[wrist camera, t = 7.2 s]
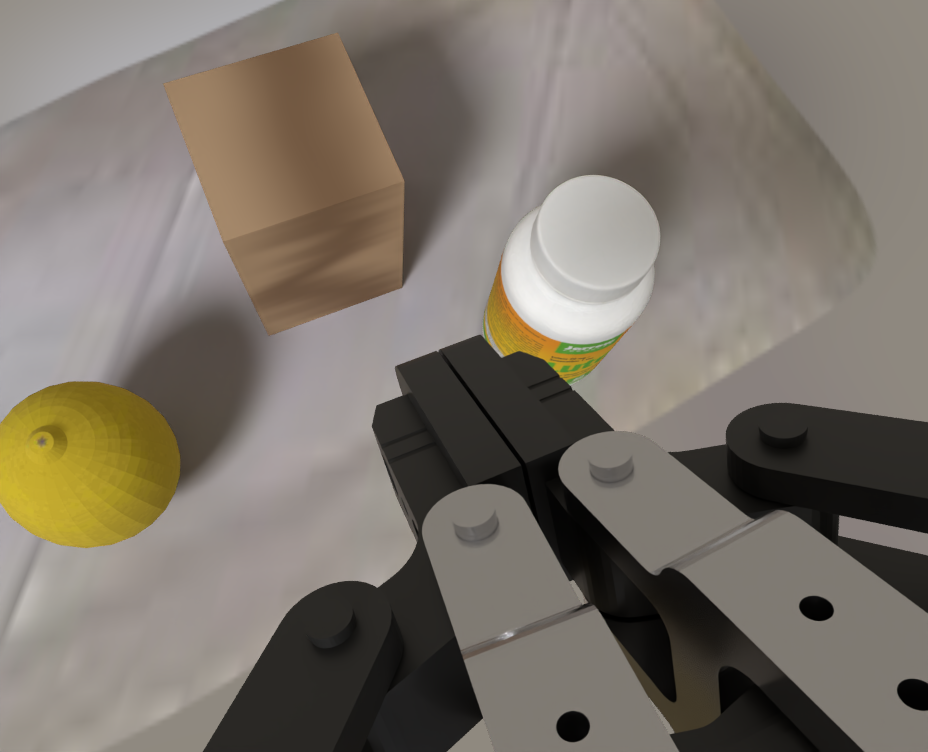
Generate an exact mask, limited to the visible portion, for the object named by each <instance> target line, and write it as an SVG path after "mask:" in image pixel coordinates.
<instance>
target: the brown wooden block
mask: <svg viewBox="0 0 928 752" xmlns="http://www.w3.org/2000/svg"><path fill="white" fill-rule="evenodd" d="M163 85H164V87H165V90H166V93H167V95H168V98H169V101H170V103H171V106H172V109H173V111H174V114H175V116H176V119H177V122H178V124H179V127H180V130H181V132H182V135H183V138H184V140H185V143H186V145H187V148H188V151H189V153H190V156H191V159H192V161H193V164H194V167H195V169H196V172H197V174H198V177H199V180H200V182H201V185H202V188H203V190H204V193H205V196H206V198H207V201H208V203H209V206H210V209H211V211H212V214H213V217H214V219H215V222H216V225H217V227H218V230H219V232H220V235H221V238H222V240H223V243H224V245H225V247H226V249H227V251H228V253H229V255H230V257H231V259H232V261H233V263H234V265H235V267H236V269H237V271H238V273H239V276H240V278H241V280H242V282H243V284H244V286H245V288H246V290H247V292H248V294H249V296H250V298H251V300H252V302H253V304H254V306H255V308H256V310H257V312H258V314H259V316H260V319H261V321H262V323H263V325H264V327H265V329H266V331H267V333H268V335H269V336H270V335H273V334H275V333H278V332H281V331H284V330H286V329H289V328H292V327H295V326H298V325H300V324H303V323H306V322H309V321H311V320H314V319H317V318H320V317H322V316H325V315H328V314H331V313H333V312H336V311H339V310H342V309H344V308H347V307H350V306H353V305H356V304H358V303H361V302H364V301H367V300H369V299H372V298H375V297H378V296H380V295H383V294H386V293H389V292H391V291H394V290H397V289H400V288H402V271H403V226H404V179H403V177H402V174H401V172H400V170H399V168H398V165H397V163H396V161H395V159H394V157H393V154H392V152H391V150H390V148H389V145H388V143H387V141H386V139H385V136H384V134H383V132H382V130H381V128H380V125H379V123H378V121H377V119H376V116H375V114H374V112H373V110H372V107H371V105H370V103H369V101H368V99H367V96H366V94H365V92H364V90H363V87H362V85H361V83H360V81H359V79H358V76H357V74H356V72H355V70H354V67H353V65H352V63H351V61H350V58H349V56H348V54H347V52H346V50H345V47H344V45H343V43H342V41H341V38H340V36H339V34H338V33H335V34H331V35H328V36H325V37H321V38H318V39H314V40H311V41H307V42H304V43H301V44H297V45H294V46H290V47H287V48H284V49H280V50H277V51H273V52H270V53H266V54H263V55H260V56H256V57H253V58H249V59H246V60H242V61H239V62H236V63H232V64H229V65H225V66H222V67H219V68H215V69H212V70H208V71H205V72H201V73H198V74H195V75H191V76H188V77H184V78H181V79H177V80H174V81H171V82H167V83H164V84H163Z"/></svg>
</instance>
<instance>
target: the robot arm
mask: <svg viewBox="0 0 928 752" xmlns="http://www.w3.org/2000/svg"><path fill="white" fill-rule="evenodd" d="M395 371H396V375H397V379H398V382H399V385H400V388H401V391H402V395H403V396H400V397H398V398H395V399H392V400H390V401H387V402H385V403H382V404H379V405H377V406H376V410H375V415H374V419H373V423H372V428H373V431H374V434H375V437H376V440H377V443H378V445H379V448H380V451H381V454H382V457H383V460H384V463H385V465H386V468H387V471H388V474H389V477H390V480H391V483H392V485H393V488H394V491H395V494H396V497H397V499H398V501H399V504H400V506H401V508H402V510H403V512H404V515H405V517H406V519H407V521H408V523H409V526H410V528H411V530H412V532H413V534H414V536H415V539H416V541H417V544H416V547H415V550H414V552H413V554H412V556H411V557H410V559H409V560H408V561H407V563H406V564H405V565H404V566H403V567H402V568H401V569H400V570H399V571H398V572H397V573H396V574H395V575H394V576H393V577H391V578H390V579H389V580H387V581H386V582H385V583H383V584H382V585H381V586H380V587H378V588H376V587H375V586H373V585H371V584H368V583H365V582H359V581H344V582H337V583H333V584H329V585H327V586H324V587H322V588H319V589H317V590H315V591H313V592H311V593H310V594H308V595H307V596H305V597H304V598H302V599H301V600H300V601H299V602H298V603H297V604H295V605H294V606H293V607H292V608H291V610H290V611H289V612H288V613H287V614H286V616H285V617H284V618H283V620H282V621H281V623H280V625H279V626H278V628H277V630H276V631H275V633H274V635H273V636H272V638H271V640H270V641H269V643H268V645H267V646H266V648H265V650H264V651H263V653H262V655H261V656H260V658H259V660H258V661H257V663H256V665H255V666H254V668H253V670H252V671H251V673H250V674H249V676H248V678H247V679H246V681H245V683H244V684H243V686H242V688H241V689H240V691H239V693H238V695H237V696H236V698H235V700H234V701H233V703H232V704H231V706H230V708H229V709H228V711H227V713H226V714H225V716H224V718H223V719H222V721H221V723H220V724H219V726H218V728H217V729H216V731H215V733H214V734H213V736H212V738H211V739H210V741H209V743H208V744H207V746H206V748H205V749H204V751H203V752H447V751H448V750H449V749H450V748H451V747H452V746H453V745H454V744H455V743H456V742H458V741H459V740H460V739H461V738H462V737H463V736H464V735H465V734H466V733H467V732H469V730H471V729H472V728H473V727H474V726H475V725H476V724H477V723H478V722H479V721H480V720H481V719H484V722H485V724H486V727H487V731H488V733H489V736H490V739H491V742H492V745H493V748H494V751H495V752H928V556H927V555H923V554H918V553H914V552H909V551H905V550H900V549H896V548H891V547H887V546H882V545H878V544H873V543H869V542H864V541H859V540H855V539H851V538H846V537H842V536H838V530H839V515H841V516H846V517H851V518H856V519H860V520H866V521H870V522H875V523H879V524H885V525H889V526H894V527H899V528H904V529H909V530H914V531H918V532H923V533H928V422H922V421H914V420H907V419H900V418H893V417H886V416H879V415H872V414H865V413H857V412H850V411H843V410H836V409H828V408H822V407H814V406H807V405H800V404H791V403H772V404H764V405H760V406H756V407H753V408H750V409H748V410H746V411H743V412H742V413H740V414H739V415H737V416H736V417H735V418H734V419H733V420H732V421H731V422H730V424H729V425H728V427H727V430H726V444H725V445H719V446H713V447H708V448H701V449H695V450H689V451H682V452H666V451H665V450H664V449H663V448H661V447H660V446H659V445H658V444H656V443H655V442H654V441H652V440H651V439H649V438H647V437H645V436H643V435H640V434H636V433H632V432H626V431H614V430H613V429H612V428H611V427H610V426H609V425H608V424H607V423H606V422H605V421H604V420H603V419H602V417H601V416H600V415H599V414H598V413H597V412H596V411H595V410H594V409H593V408H592V407H591V406H590V405H589V404H588V403H587V402H586V401H585V400H584V399H583V398H582V397H581V396H580V395H579V394H578V393H577V392H576V391H575V390H574V391H573V390H572V388H571V386H570V385H569V384H568V383H567V382H566V381H565V380H564V379H563V378H560V376H559V374H558V373H557V372H556V371H555V370H554V369H553V368H552V367H551V366H550V365H549V364H548V363H547V362H546V361H545V360H544V359H541V358H538V357H536V356H533V355H530V354H527V353H525V352H522V351H517V352H515V353H512V354H510V355H507V356H504V357H502V358H501V357H500V356H499V354H498V353H497V352H496V351H495V350H494V349H493V348H492V347H491V345H490V344H489V343H488V342H487V341H486V340H485V339H484V337H482V336H481V335H477V336H475V337H472V338H469V339H466V340H464V341H461V342H458V343H456V344H453V345H450V346H448V347H445V348H442V349H440V350H439V353H438V352H437V351H435V352H432V353H430V354H427V355H424V356H422V357H419V358H416V359H414V360H411V361H408V362H405V363H403V364H400V365H397V366H395ZM572 580H574V581H575V583H576V584H577V585H578V587H579V588H580V590H581V591H582V593H583V598H584V602H585V604H584V605H582V603H581V602H580V600H579V598H578V597H577V595H576V593H575V591H574V589H573V587H572V586H571V584H570V582H569V581H572ZM648 697H649V698H650V700H651V701H652V702H653V703H654V705H655V706H656V707H657V708H658V710H659V711H660V712H661V714H662V715H663V716H664V717H665V719H666V720H667V721H668V723H669V724H670V726H671V727H672V729H673V731H674V734H669V733H668V731H667V729H666V728H665V726H664V724H663V722H662V721H661V719H660V717H659V716H658V714H657V712H656V710H655V708H654V707H653V705H652V703H651V701H650V700H649V698H648Z"/></svg>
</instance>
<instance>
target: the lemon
mask: <svg viewBox="0 0 928 752" xmlns="http://www.w3.org/2000/svg"><path fill="white" fill-rule="evenodd" d="M179 476H180V453H179V449H178V445H177V441H176V438H175V435H174V433H173V432H172V430H171V428H170V426H169V425H168V423H167V421H166V420H165V418H164V417H163V416H162V415H161V414H160V413H159V412H158V411H157V410H156V409H155V408H154V407H153V406H152V405H151V404H150V403H149V402H148V401H146V400H145V399H143V398H141V397H139V396H137V395H136V394H134V393H132V392H130V391H128V390H126V389H124V388H120V387H116V386H113V385H109V384H105V383H100V382H67V383H62V384H58V385H53V386H49V387H47V388H45V389H42V390H40V391H38V392H36V393H34V394H32V395H30V396H28V397H27V398H25V399H24V400H23V401H22V402H20V403H19V404H18V405H16V406H15V407H14V408H13V409H12V410H11V411H10V412H9V414H8V415H7V416H6V417H5V418H4V420H3V421H2V422H1V424H0V503H1V504H2V506H3V507H4V509H5V510H6V511H7V513H8V514H9V516H10V517H11V518H12V519H13V520H15V521H16V522H17V523H19V524H20V525H21V526H23V527H24V528H25V529H26V530H28V531H29V532H30V533H32V534H34V535H36V536H38V537H40V538H43V539H45V540H48V541H51V542H53V543H56V544H59V545H65V546H73V547H81V548H90V547H98V546H105V545H112V544H115V543H117V542H120V541H123V540H125V539H128V538H130V537H133V536H135V535H136V534H138V533H139V532H141V531H142V530H144V529H145V528H147V527H148V526H150V525H151V524H152V523H153V522H154V521H155V520H156V519H157V518H158V517H159V516H160V515H161V514H162V513H163V512H164V511H165V509H166V508H167V506H168V504H169V502H170V501H171V499H172V497H173V495H174V494H175V491H176V487H177V484H178V480H179Z"/></svg>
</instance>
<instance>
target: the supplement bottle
mask: <svg viewBox="0 0 928 752" xmlns="http://www.w3.org/2000/svg"><path fill="white" fill-rule="evenodd" d="M660 238H661V236H660V228H659V223H658V220H657V217H656V215H655V213H654V210H653V209H652V207H651V206H650V204H649V203H648V201H647V200H646V199H645V198H644V197H643V196H642V195H641V194H640V193H639V192H638V191H637V190H635V189H634V188H633V187H631V186H630V185H628V184H626V183H624V182H622V181H620V180H618V179H615V178H612V177H607V176H602V175H585V176H579V177H576V178H572V179H570V180H568V181H566V182H564V183H562V184H560V185H559V186H558V187H556V188H555V189H554V190H553V191H552V192H551V193H550V194H549V195H548V196H547V197H546V199H545V201H544V202H543V204H542V205H540V206H538V207H536V208H535V209H533V210H532V211H530V212H529V213H528V214H527V215H526V216H525V217H523V218H522V219H521V221H520V222H519V223H518V224H517V225H516V227H515V228H514V230H513V231H512V233H511V235H510V237H509V239H508V241H507V244H506V246H505V248H504V251H503V254H502V257H501V261H500V264H499V267H498V271H497V274H496V277H495V280H494V283H493V287H492V290H491V293H490V296H489V299H488V302H487V305H486V308H485V312H484V317H483V337H484V339H485V340H486V341H487V342H488V343H489V344H490V345H491V347H492V348H493V349H494V350H495V351H496V352H497V353H498V354H499V356H500V357H501V358H502V357H504V356H507V355H510V354H512V353H515V352H517V351H522V352H525V353H527V354H530V355H533V356H536V357H538V358H541V359H544V360H545V361H546V362H547V363H548V364H549V365H550V366H551V367H552V368H553V369H554V370H555V371H556V372H557V373H558V374H559V376H560V378H563V379H564V380H565V381H566V382H567V383H568V384H569V385H572V384H574V383H576V382H578V381H580V380H581V379H583V378H584V377H585V376H587V375H588V374H589V373H590V372H591V371H592V370H593V369H594V368H595V367H596V366H597V365H598V364H599V363H600V361H601V360H602V359H603V358H604V357H605V356H606V355H607V353H608V352H609V351H610V350H611V349H612V348H613V347H614V346H615V344H616V343H617V342H618V341H619V340H620V339H621V338H622V336H623V335H624V334H625V333H626V332H627V331H628V330H629V328H630V327H631V326H632V325H633V324H634V323H635V321H636V320H637V319H638V318H639V316H640V315H641V314H642V312H643V311H644V309H645V307H646V306H647V304H648V302H649V299H650V297H651V294H652V291H653V286H654V279H655V267H654V262H655V260H656V258H657V255H658V252H659V248H660Z"/></svg>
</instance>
